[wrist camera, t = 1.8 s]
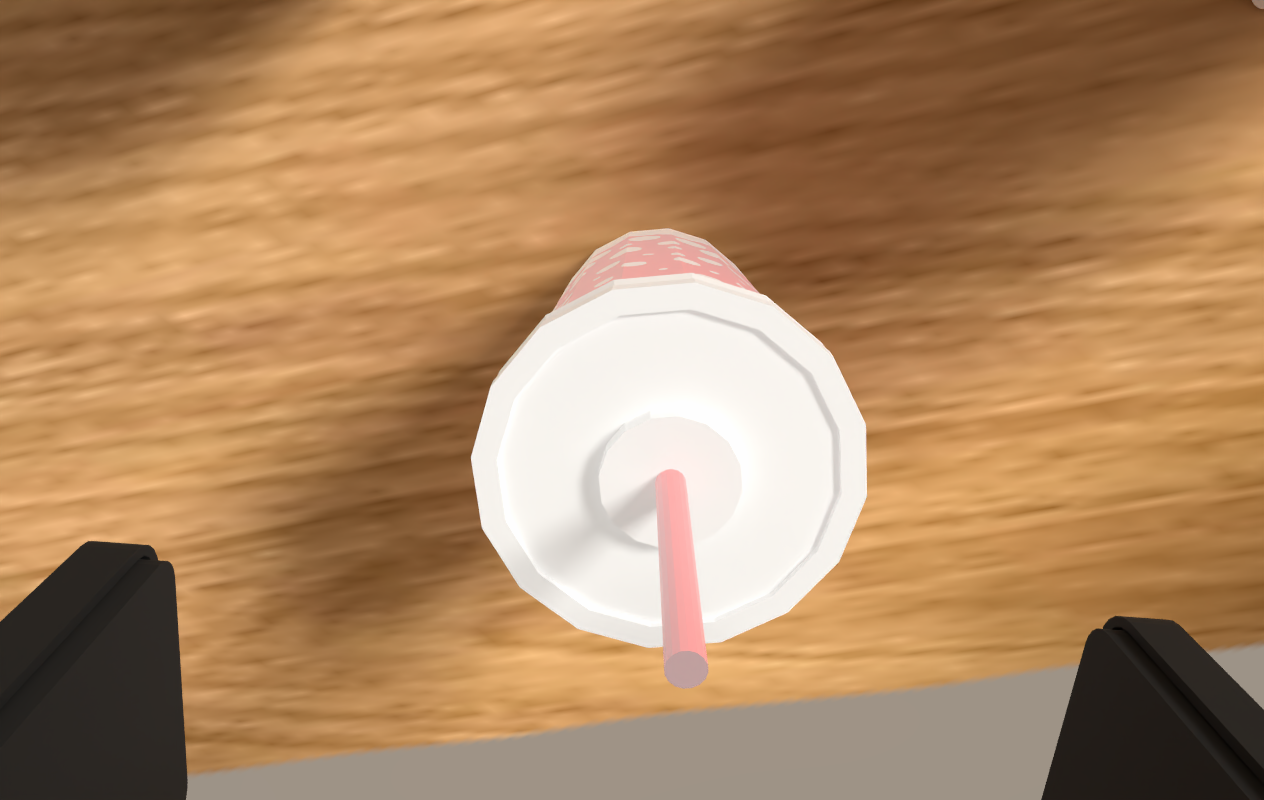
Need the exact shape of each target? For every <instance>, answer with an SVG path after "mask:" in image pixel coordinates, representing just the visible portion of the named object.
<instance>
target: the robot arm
mask: <svg viewBox="0 0 1264 800" xmlns="http://www.w3.org/2000/svg"><path fill="white" fill-rule="evenodd" d="M186 795H187V765H186V748H185V732H184V716H183V699H182V683H181V667H180V650H179V634H178V618H177V601H176V585H175V574H174V569H173V566H172V564H171V563H170V562H168V561H158V558H157V555H156V553H155V550H154V549H153V548H152V547H151V546H150V545H139V544H125V543H111V542H98V541H88V542H86V543H85V544H83V545H82V546H80V547H79V548H78V549H77V550H76V551H75V552H74V553H73V554H72V555H71V556H70V557H69V558H68V559H67V560H66V561H65V562H63V563H62V564H61V565H60V566H59V567H58V568H57V569H56V570H55V571H54V572H53V573H52V574H51V575H50V576H49V577H48V578H46V579H45V580H44V581H43V582H42V583H41V584H40V585H39V586H38V587H37V588H36V589H35V590H34V591H33V592H32V593H30V594H29V595H28V596H27V597H26V598H25V599H24V600H23V601H22V602H21V603H20V604H19V605H18V606H17V607H16V608H15V609H13V610H12V611H11V612H10V613H9V614H8V615H7V616H6V617H5V618H4V619H3V620H2V621H1V622H0V800H186ZM1041 800H1264V710H1263V709H1262V708H1261V707H1260V706H1259V705H1258V704H1257V703H1256V702H1255V701H1254V700H1253V699H1252V698H1251V697H1250V696H1249V695H1248V694H1247V693H1246V692H1245V691H1244V690H1243V689H1242V688H1241V687H1240V686H1239V684H1238V683H1236V681H1234V680H1233V679H1232V677H1231V676H1230V675H1228V674H1227V672H1225V670H1224V669H1223V668H1222V667H1221V666H1220V665H1219V664H1218V663H1217V662H1215V660H1214V659H1213V658H1212V657H1211V656H1210V655H1209V654H1208V653H1207V652H1206V651H1205V650H1204V649H1203V648H1202V647H1201V646H1200V645H1199V644H1198V643H1197V642H1196V641H1195V640H1194V639H1193V638H1192V637H1191V636H1190V635H1189V634H1188V633H1187V632H1186V631H1185V630H1184V629H1183V628H1182V627H1181V626H1180V625H1178V624H1177V623H1175V622H1174V621H1171V620H1164V619H1150V618H1136V617H1123V616H1115V617H1113V618H1110V619H1109V620H1108V621H1107V622H1106V624H1105V625H1104V627H1103V629H1095V630H1093V631H1092V632H1091V633H1090V635H1089V636H1088V638H1087V641H1086V643H1085V647H1084V650H1083V654H1082V658H1081V661H1080V665H1079V668H1078V672H1077V675H1076V679H1075V682H1074V686H1073V690H1072V693H1071V697H1070V700H1069V704H1068V707H1067V711H1066V714H1065V718H1064V722H1063V725H1062V728H1061V732H1060V736H1059V739H1058V743H1057V746H1056V750H1055V753H1054V757H1053V760H1052V764H1051V767H1050V771H1049V775H1048V778H1047V782H1046V785H1045V789H1044V792H1043V796H1042V799H1041Z"/></svg>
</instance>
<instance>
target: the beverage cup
mask: <svg viewBox="0 0 1264 800" xmlns="http://www.w3.org/2000/svg"><path fill="white" fill-rule="evenodd" d="M471 462H472V468H473V475H474V481H475V487H476V494H477V500H478V507H479V513H480V519H481V526H482V529H483V531H484V532H485V534H486V535H487V537H488V538H489V540H490V541H491V543H492V545H493V546H494V548H495V549H496V551H497V552H498V554H499V556H500V557H501V559H502V560H503V562H504V563H505V565H506V567H507V568H508V570H509V571H510V573H511V574H512V576H513V577H514V579H515V581H516V582H517V584H518V585H519V587H520V588H521V589H523V590H524V591H526V592H527V593H528V594H530V595H531V596H533V597H534V598H535V599H537V600H538V601H540V602H541V603H542V604H544V605H545V606H547V607H548V608H549V609H551V610H552V611H554V612H555V613H556V614H558V615H559V616H561V617H562V618H563V619H565V620H566V621H568V622H569V623H571V624H572V625H573V626H575V627H576V628H578V629H580V630H584V631H588V632H591V633H595V634H599V635H603V636H606V637H610V638H614V639H617V640H621V641H625V642H629V643H632V644H636V645H640V646H643V647H647V648H652V647H663V654H664V671H665V676H666V678H667V679H668V681H669V682H670V683H671V684H673V685H674V686H676V687H680V688H693V687H695V686H697V685H700V684H701V683H702V682H703V681H704V680H705V679H706V676H707V674H708V662H707V654H706V645H705V643H716V642H723V641H725V640H727V639H729V638H731V637H734V636H736V635H738V634H740V633H743V632H745V631H747V630H749V629H752V628H754V627H756V626H758V625H761V624H763V623H765V622H767V621H770V620H772V619H774V618H776V617H779V616H781V615H783V614H785V613H788V612H789V611H790V610H791V609H792V608H793V607H794V606H795V605H796V604H797V603H798V602H799V601H800V600H801V599H802V598H803V597H804V596H805V595H806V594H807V593H808V592H809V591H810V590H811V589H812V588H813V587H814V586H815V585H816V584H817V583H818V582H819V581H820V580H821V579H822V578H823V577H824V576H825V575H826V574H827V573H828V572H829V571H830V570H831V569H832V568H833V567H834V566H835V565H836V564H837V563H838V562H839V561H840V558H841V556H842V554H843V551H844V549H845V547H846V544H847V542H848V540H849V537H850V535H851V533H852V530H853V528H854V525H855V523H856V521H857V518H858V516H859V514H860V511H861V509H862V507H863V504H864V502H865V500H866V497H867V467H866V424H865V422H864V420H863V417H862V415H861V413H860V411H859V409H858V407H857V405H856V403H855V401H854V399H853V397H852V394H851V392H850V390H849V388H848V386H847V384H846V382H845V380H844V378H843V376H842V374H841V372H840V369H839V367H838V365H837V363H836V361H835V359H834V357H833V355H832V354H831V352H830V351H829V350H827V349H826V348H825V347H824V346H823V343H821V342H820V341H819V340H818V339H817V338H816V337H814V336H813V335H812V334H811V333H810V332H808V331H807V330H806V329H805V328H804V327H802V326H801V325H800V324H799V323H798V322H797V321H795V320H794V319H793V318H792V317H791V316H789V315H788V314H787V313H786V312H785V311H784V310H782V309H781V308H780V307H779V306H778V305H776V304H775V303H774V302H773V301H772V300H771V299H769V298H768V297H767V296H766V295H763V294H759V292H758V291H757V290H756V289H755V288H754V287H753V285H752V284H751V283H750V282H749V281H748V280H747V278H746V277H745V276H744V275H743V274H742V272H741V271H740V270H739V269H738V268H737V267H736V265H735V264H734V263H732V262H731V261H730V260H729V259H728V258H727V257H725V256H724V255H723V254H722V253H721V252H719V251H718V250H717V249H716V248H715V247H714V246H712V245H711V244H710V243H709V242H708V241H706V240H705V239H702V238H698V237H695V236H692V235H689V234H685V233H682V232H679V231H676V230H673V229H669V228H666V229H655V230H644V231H633V232H629V233H627V234H625V235H623V236H621V237H619V238H617V239H615V240H613V241H611V242H610V243H608V244H606V245H604V246H602V247H600V248H598V249H596V250H595V251H594V252H593V254H592V255H591V256H590V257H589V259H588V260H587V261H586V262H585V263H584V265H583V266H582V267H581V268H580V269H579V271H578V272H577V273H576V274H575V275H574V277H573V278H572V279H571V281H570V283H569V284H568V286H567V288H566V289H565V291H564V293H563V294H562V296H561V298H560V300H559V301H558V303H557V305H556V306H555V308H554V310H553V311H552V312H551V313H549V314H547V315H545V317H544V318H543V319H542V320H541V321H540V323H539V324H538V325H537V326H536V328H535V329H534V330H533V331H532V332H531V334H530V335H529V336H528V337H527V338H526V340H525V341H524V342H523V343H522V344H521V346H520V347H519V348H518V349H517V350H516V352H515V353H514V354H513V355H512V357H511V358H510V359H509V360H508V361H507V363H506V364H505V365H504V366H503V367H502V369H501V370H500V371H499V374H498V376H497V377H496V378H495V379H494V380H493V382H492V385H491V387H490V391H489V394H488V398H487V401H486V405H485V409H484V412H483V416H482V419H481V423H480V427H479V430H478V434H477V437H476V441H475V445H474V448H473V452H472V455H471Z"/></svg>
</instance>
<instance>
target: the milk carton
mask: <svg viewBox="0 0 1264 800" xmlns="http://www.w3.org/2000/svg"><path fill="white" fill-rule="evenodd" d="M1252 2H1253V4H1254V5H1255V6H1256V7H1258V8H1260V9H1264V0H1252Z"/></svg>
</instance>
